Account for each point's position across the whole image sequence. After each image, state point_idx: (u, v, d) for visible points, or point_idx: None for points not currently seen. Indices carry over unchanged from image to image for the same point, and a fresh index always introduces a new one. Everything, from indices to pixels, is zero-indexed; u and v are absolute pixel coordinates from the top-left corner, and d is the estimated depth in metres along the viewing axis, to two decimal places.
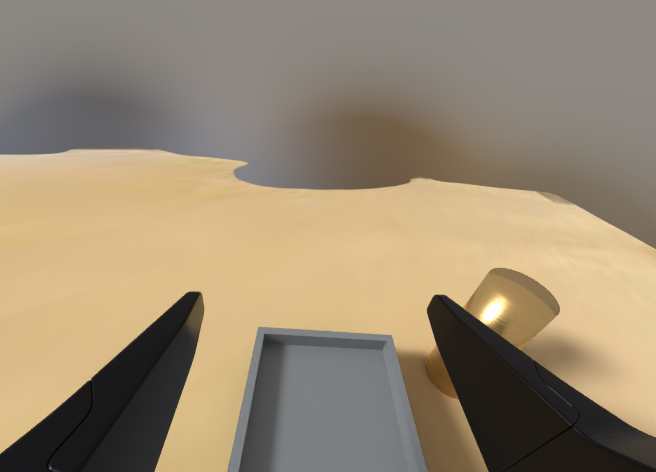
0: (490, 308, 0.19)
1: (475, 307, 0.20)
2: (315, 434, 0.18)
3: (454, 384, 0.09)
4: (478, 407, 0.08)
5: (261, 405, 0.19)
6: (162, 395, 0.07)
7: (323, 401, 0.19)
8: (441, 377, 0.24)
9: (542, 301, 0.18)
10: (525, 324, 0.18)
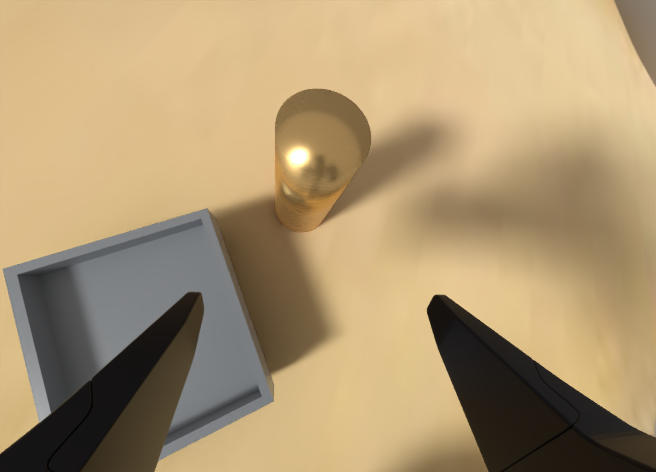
0: (285, 170, 0.13)
1: (277, 164, 0.14)
2: None
3: (454, 384, 0.09)
4: (478, 407, 0.08)
5: (68, 342, 0.17)
6: (162, 395, 0.07)
7: (143, 308, 0.18)
8: (285, 222, 0.22)
9: (349, 143, 0.13)
10: (324, 185, 0.13)
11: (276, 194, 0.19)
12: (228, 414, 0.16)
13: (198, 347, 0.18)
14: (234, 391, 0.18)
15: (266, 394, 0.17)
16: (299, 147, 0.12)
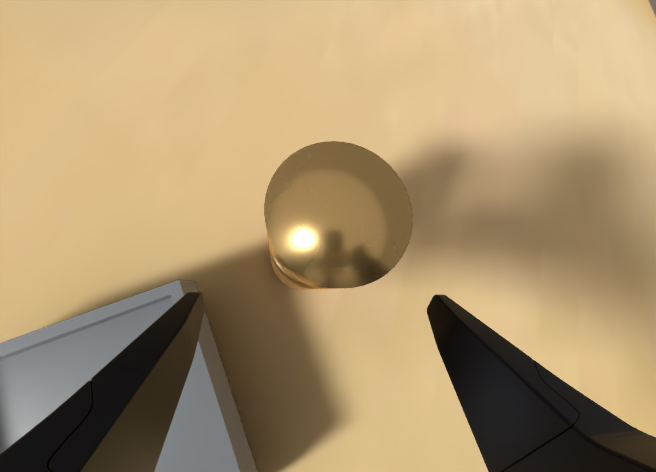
0: (282, 263, 0.09)
1: (269, 245, 0.10)
2: None
3: (454, 384, 0.09)
4: (478, 407, 0.08)
5: None
6: (162, 395, 0.07)
7: None
8: (283, 281, 0.18)
9: (379, 228, 0.08)
10: None
11: (271, 258, 0.15)
12: None
13: (165, 469, 0.13)
14: None
15: None
16: (303, 240, 0.08)
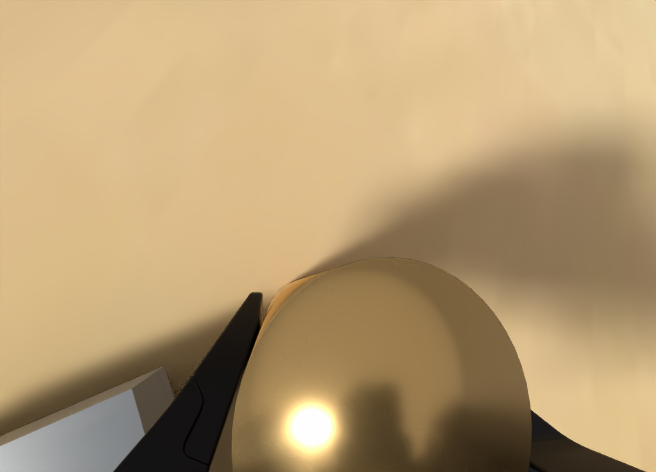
0: None
1: None
2: None
3: None
4: None
5: None
6: None
7: None
8: None
9: (473, 445, 0.04)
10: None
11: None
12: None
13: None
14: None
15: None
16: None
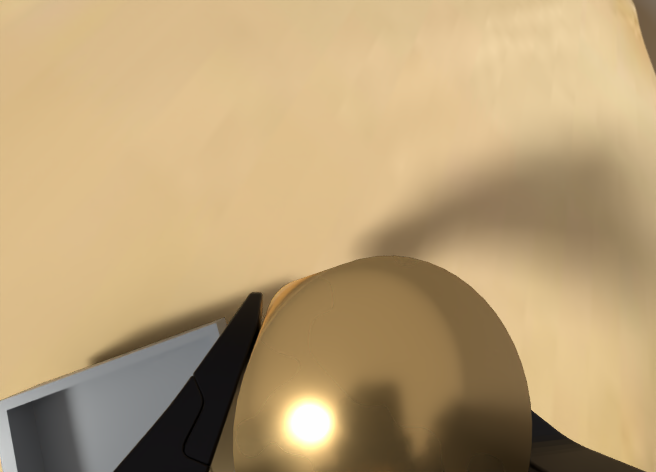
0: None
1: None
2: None
3: None
4: None
5: None
6: None
7: (142, 433, 0.16)
8: None
9: (473, 443, 0.04)
10: None
11: None
12: None
13: None
14: None
15: None
16: None
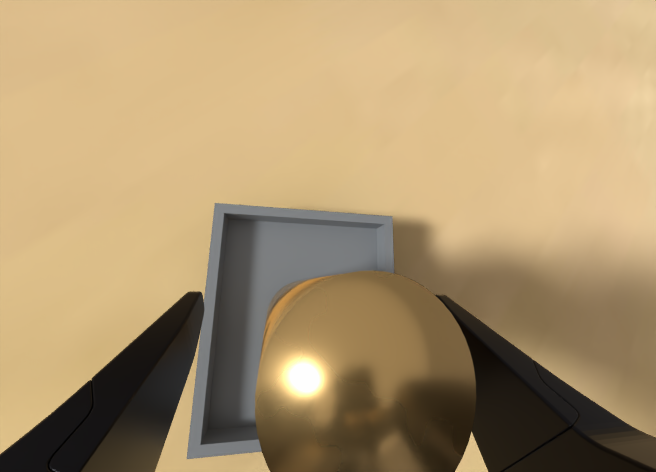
0: None
1: None
2: None
3: None
4: (478, 407, 0.08)
5: (231, 291, 0.17)
6: (162, 395, 0.07)
7: None
8: None
9: (430, 410, 0.05)
10: None
11: None
12: None
13: None
14: None
15: None
16: (316, 452, 0.05)
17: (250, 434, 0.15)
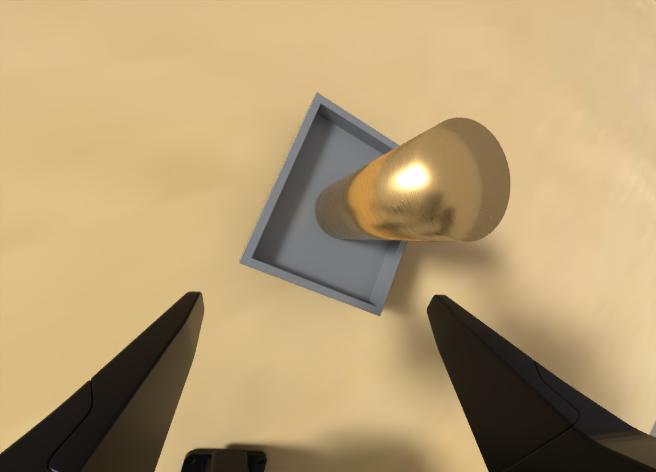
0: (396, 202, 0.10)
1: (380, 183, 0.11)
2: None
3: (454, 384, 0.09)
4: (478, 407, 0.08)
5: (299, 167, 0.21)
6: (162, 395, 0.07)
7: None
8: (324, 223, 0.20)
9: (484, 205, 0.10)
10: (433, 238, 0.11)
11: (338, 198, 0.16)
12: (354, 299, 0.20)
13: (356, 242, 0.22)
14: (353, 288, 0.22)
15: (379, 308, 0.21)
16: (435, 189, 0.09)
17: (283, 270, 0.19)
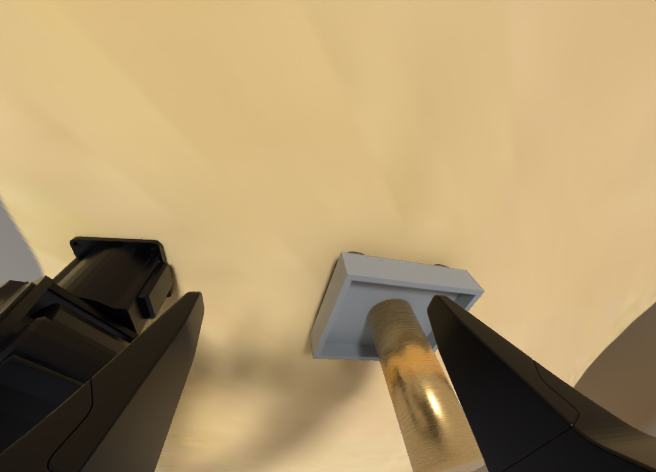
0: (433, 435, 0.16)
1: (439, 412, 0.17)
2: None
3: (454, 384, 0.09)
4: (478, 407, 0.08)
5: None
6: (162, 395, 0.07)
7: None
8: (382, 316, 0.24)
9: None
10: (411, 454, 0.17)
11: (411, 345, 0.21)
12: (324, 342, 0.26)
13: (364, 326, 0.28)
14: None
15: (318, 357, 0.27)
16: (447, 465, 0.16)
17: None
